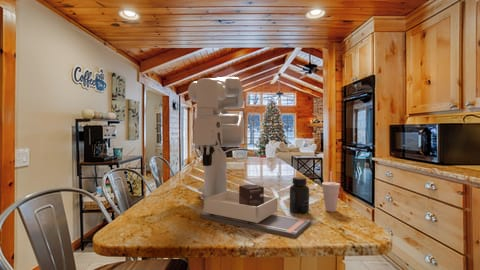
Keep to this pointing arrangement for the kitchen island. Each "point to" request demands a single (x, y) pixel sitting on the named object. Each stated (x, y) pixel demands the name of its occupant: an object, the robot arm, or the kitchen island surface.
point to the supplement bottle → (299, 196)
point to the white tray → (239, 207)
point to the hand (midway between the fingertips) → (207, 165)
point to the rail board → (267, 223)
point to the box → (251, 195)
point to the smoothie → (330, 194)
